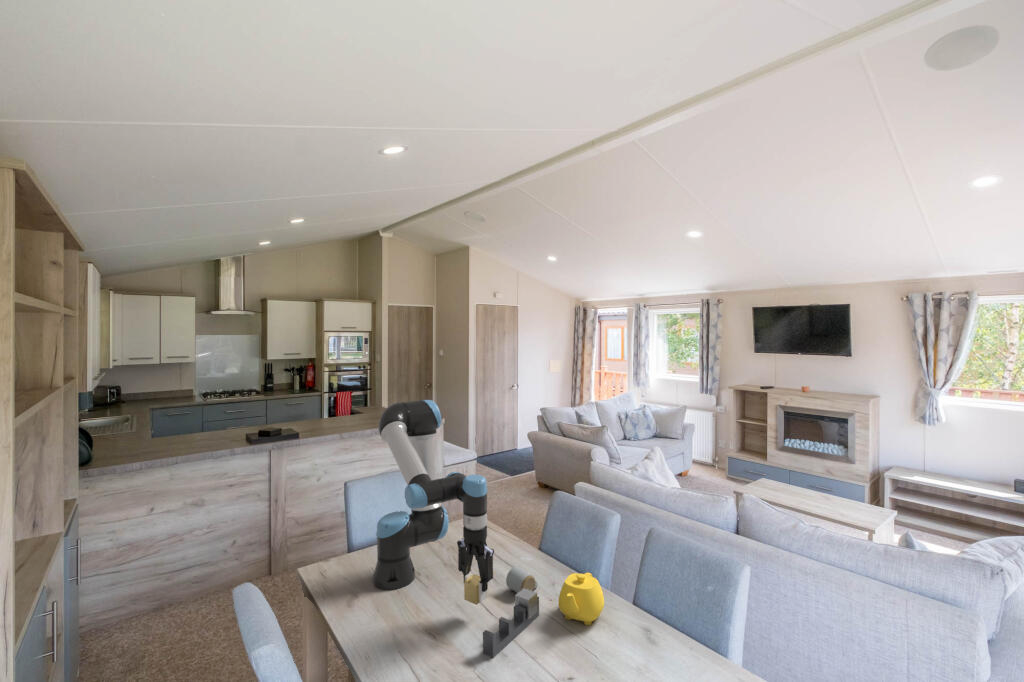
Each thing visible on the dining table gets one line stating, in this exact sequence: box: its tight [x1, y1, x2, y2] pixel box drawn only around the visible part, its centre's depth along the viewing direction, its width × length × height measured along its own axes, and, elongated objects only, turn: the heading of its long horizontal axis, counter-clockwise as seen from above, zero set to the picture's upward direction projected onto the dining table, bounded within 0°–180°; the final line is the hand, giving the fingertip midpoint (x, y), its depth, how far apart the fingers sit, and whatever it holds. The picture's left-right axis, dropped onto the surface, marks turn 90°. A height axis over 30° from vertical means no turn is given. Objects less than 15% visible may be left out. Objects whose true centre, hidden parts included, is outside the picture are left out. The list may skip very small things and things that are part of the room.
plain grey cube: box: [514, 588, 538, 619], centre depth 149 cm, size 5×5×6 cm
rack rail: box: [482, 595, 540, 659], centre depth 143 cm, size 4×24×6 cm, turn 144°
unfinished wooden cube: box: [463, 574, 481, 606], centre depth 152 cm, size 5×5×6 cm
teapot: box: [557, 572, 605, 626], centre depth 151 cm, size 14×20×13 cm
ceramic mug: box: [505, 565, 539, 594], centre depth 167 cm, size 11×8×8 cm
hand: (475, 597), depth 152 cm, fingers closed on unfinished wooden cube, 5 cm apart
